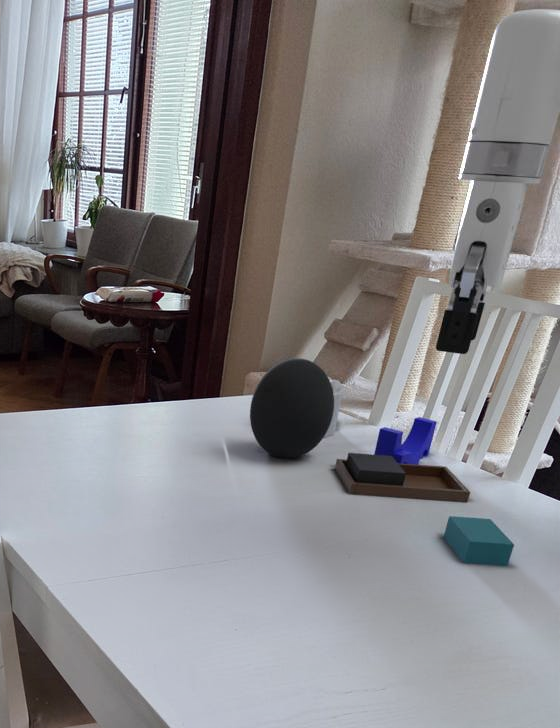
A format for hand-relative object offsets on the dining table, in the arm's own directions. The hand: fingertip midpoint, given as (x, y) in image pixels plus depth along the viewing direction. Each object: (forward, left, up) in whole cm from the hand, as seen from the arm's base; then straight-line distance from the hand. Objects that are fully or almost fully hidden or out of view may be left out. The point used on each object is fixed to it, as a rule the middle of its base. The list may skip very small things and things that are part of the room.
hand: (455, 345), depth 93 cm
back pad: (-1, -22, -23) cm, 32 cm away
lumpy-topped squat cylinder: (+4, -51, -24) cm, 56 cm away
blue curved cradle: (-9, -34, -24) cm, 42 cm away
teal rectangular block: (-8, +2, -24) cm, 25 cm away
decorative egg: (+10, -33, -24) cm, 42 cm away
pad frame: (-5, -22, -24) cm, 33 cm away
